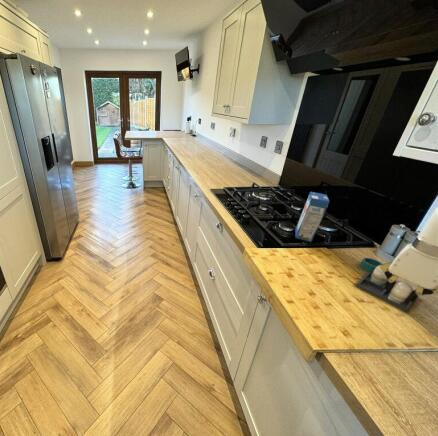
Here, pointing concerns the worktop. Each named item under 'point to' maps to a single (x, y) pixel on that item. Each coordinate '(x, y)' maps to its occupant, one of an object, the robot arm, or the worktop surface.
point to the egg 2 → (400, 292)
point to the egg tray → (379, 291)
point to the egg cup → (369, 264)
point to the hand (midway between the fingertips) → (397, 296)
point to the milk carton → (311, 216)
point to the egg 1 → (378, 276)
